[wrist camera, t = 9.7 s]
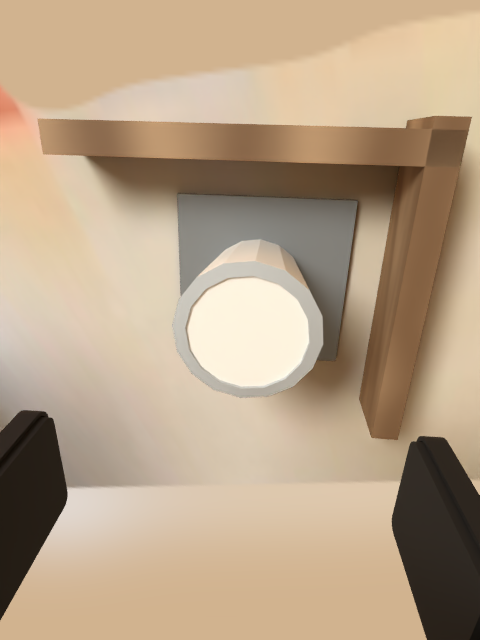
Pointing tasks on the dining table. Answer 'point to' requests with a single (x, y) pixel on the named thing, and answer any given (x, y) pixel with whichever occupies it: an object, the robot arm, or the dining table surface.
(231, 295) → the white cup
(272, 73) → the dining table surface
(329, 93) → the dining table surface
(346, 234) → the pad
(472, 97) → the dining table surface
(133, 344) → the dining table surface
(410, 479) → the robot arm
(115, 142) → the wooden corner fence
